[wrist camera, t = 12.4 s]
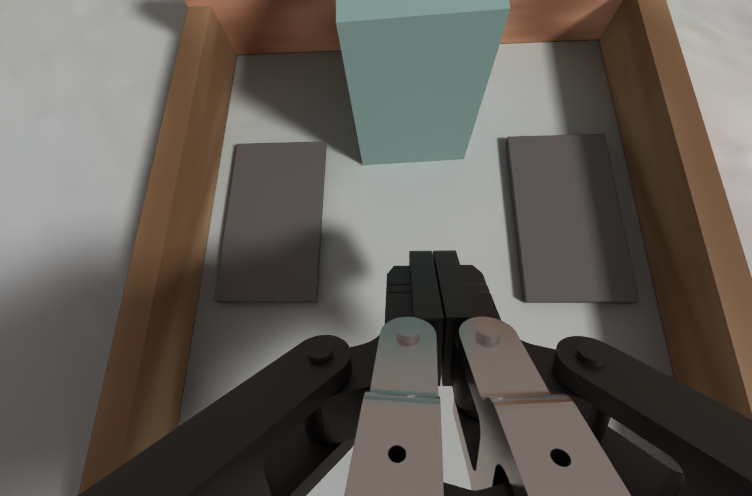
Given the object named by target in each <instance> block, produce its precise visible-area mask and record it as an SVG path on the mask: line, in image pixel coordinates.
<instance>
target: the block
mask: <svg viewBox="0 0 752 496" xmlns="http://www.w3.org/2000/svg"><path fill="white" fill-rule="evenodd" d="M510 9H511V8H510V3H509V0H336V25H337V31H338V36H339V41H340V47H341V52H342V57H343V63H344V68H345V73H346V79H347V84H348V89H349V95H350V100H351V105H352V111H353V116H354V121H355V126H356V132H357V137H358V142H359V148H360V153H361V158H362V164H363V165H373V164H390V163H406V162H423V161H440V160H456V159H464V156H465V153H466V150H467V147H468V143H469V140H470V137H471V134H472V131H473V127H474V124H475V121H476V118H477V115H478V111H479V108H480V105H481V102H482V99H483V95H484V92H485V89H486V86H487V82H488V79H489V76H490V73H491V70H492V66H493V63H494V60H495V57H496V54H497V50H498V47H499V44H500V41H501V38H502V34H503V31H504V28H505V25H506V22H507V18H508V15H509V12H510Z"/></svg>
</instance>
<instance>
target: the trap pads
mask: <svg viewBox="0 0 752 496" xmlns="http://www.w3.org/2000/svg"><path fill="white" fill-rule="evenodd" d="M506 148H507V157H508V166H509V175H510V184H511V193H512V202H513V211H514V220H515V229H516V237H517V246H518V255H519V264H520V273H521V282H522V291H523V300H524V303H634V302H638V301H639V299H638V294H637V289H636V284H635V280H634V275H633V270H632V265H631V260H630V256H629V251H628V246H627V241H626V236H625V232H624V227H623V222H622V217H621V212H620V208H619V203H618V198H617V193H616V188H615V183H614V179H613V174H612V169H611V164H610V159H609V155H608V150H607V145H606V140H605V135H604V134H592V135H554V136H517V137H508V138H507V140H506ZM325 160H326V144H325V142H291V143H254V144H237V150H236V157H235V164H234V171H233V177H232V184H231V191H230V198H229V205H228V211H227V218H226V225H225V232H224V239H223V245H222V252H221V259H220V266H219V273H218V279H217V286H216V293H215V300H214V301H217V302H317V291H318V274H319V258H320V242H321V225H322V209H323V193H324V176H325Z"/></svg>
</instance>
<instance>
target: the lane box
mask: <svg viewBox="0 0 752 496" xmlns="http://www.w3.org/2000/svg"><path fill="white" fill-rule="evenodd" d="M184 1H185V3H186V5H187V6H188V8H187V13H186V17H185V22H184V26H183V31H182V35H181V39H180V44H179V48H178V53H177V57H176V62H175V66H174V71H173V75H172V80H171V84H170V88H169V93H168V97H167V102H166V106H165V111H164V115H163V120H162V124H161V129H160V133H159V138H158V142H157V146H156V151H155V155H154V160H153V164H152V169H151V173H150V178H149V182H148V187H147V191H146V195H145V200H144V204H143V209H142V213H141V218H140V222H139V227H138V231H137V236H136V240H135V244H134V249H133V253H132V258H131V262H130V267H129V271H128V276H127V280H126V285H125V289H124V293H123V298H122V302H121V307H120V311H119V316H118V320H117V325H116V329H115V334H114V338H113V342H112V347H111V351H110V356H109V360H108V365H107V369H106V374H105V378H104V383H103V387H102V392H101V396H100V400H99V405H98V409H97V414H96V418H95V423H94V427H93V432H92V436H91V441H90V445H89V449H88V454H87V458H86V463H85V467H84V472H83V476H82V481H81V485H80V490H79V494H81V493H82V492H84V491H85V490H87V489H88V488H90V487H91V486H92V485H94V484H95V483H97V482H98V481H100V480H101V479H103V478H104V477H106V476H107V475H109V474H110V473H111V472H113V471H114V470H116V469H117V468H119V467H120V466H122V465H123V464H125V463H126V462H128V461H129V460H130V459H132V458H133V457H135V456H136V455H138V454H139V453H141V452H142V451H144V450H145V449H147V448H148V447H150V446H151V445H152V444H154V443H155V442H157V441H158V440H160V439H161V438H163V437H164V436H166V435H167V434H169V433H170V432H171V431H173V430H174V429H176V428H177V425H178V419H179V413H180V407H181V400H182V394H183V388H184V382H185V376H186V369H187V363H188V357H189V351H190V345H191V338H192V332H193V326H194V320H195V313H196V307H197V301H198V295H199V289H200V282H201V276H202V270H203V264H204V258H205V251H206V245H207V239H208V233H209V227H210V220H211V214H212V208H213V202H214V196H215V189H216V183H217V177H218V171H219V164H220V158H221V152H222V146H223V140H224V133H225V127H226V121H227V115H228V109H229V102H230V96H231V90H232V84H233V78H234V71H235V65H236V59H237V55H242V54H265V53H289V52H312V51H336V50H341V47H340V41H339V36H338V31H337V25H336V0H184ZM509 3H510V8H511V9H510V12H509V15H508V18H507V22H506V25H505V28H504V31H503V34H502V38H501V41H500V43H523V42H547V41H570V40H594V39H599V42H600V46H601V51H602V55H603V60H604V64H605V69H606V73H607V78H608V82H609V86H610V91H611V95H612V100H613V104H614V109H615V113H616V118H617V122H618V127H619V131H620V136H621V140H622V145H623V149H624V154H625V158H626V162H627V167H628V171H629V176H630V180H631V185H632V189H633V194H634V198H635V203H636V207H637V212H638V216H639V221H640V225H641V230H642V234H643V238H644V243H645V247H646V252H647V256H648V261H649V265H650V270H651V274H652V279H653V283H654V288H655V292H656V297H657V301H658V306H659V310H660V314H661V319H662V323H663V328H664V332H665V337H666V341H667V346H668V350H669V355H670V359H671V364H672V368H673V373H674V377H675V380H677V381H678V382H680V383H682V384H684V385H686V386H688V387H690V388H692V389H694V390H696V391H698V392H699V393H701V394H703V395H705V396H707V397H709V398H711V399H713V400H715V401H717V402H719V403H721V404H722V405H724V406H726V407H728V408H730V409H732V410H734V411H736V412H738V413H740V414H742V415H744V416H745V417H747V418H749V419H751V420H752V278H751V274H750V271H749V268H748V265H747V261H746V258H745V255H744V252H743V248H742V245H741V242H740V239H739V235H738V232H737V229H736V226H735V222H734V219H733V216H732V213H731V210H730V206H729V203H728V200H727V197H726V193H725V190H724V187H723V184H722V180H721V177H720V174H719V171H718V167H717V164H716V161H715V158H714V154H713V151H712V148H711V145H710V141H709V138H708V135H707V132H706V128H705V125H704V122H703V119H702V115H701V112H700V109H699V106H698V102H697V99H696V96H695V93H694V90H693V86H692V83H691V80H690V77H689V73H688V70H687V67H686V64H685V60H684V57H683V54H682V51H681V47H680V44H679V41H678V38H677V34H676V31H675V28H674V25H673V21H672V18H671V15H670V12H669V8H668V5H667V2H666V0H509ZM79 494H78V495H79Z"/></svg>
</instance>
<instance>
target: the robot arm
mask: <svg viewBox="0 0 752 496" xmlns="http://www.w3.org/2000/svg"><path fill="white" fill-rule="evenodd" d="M441 378H442V385H443V386H452V387H453V393H454V402H453V413H454V418H455V422H456V426H457V430H458V434H459V438H460V442H461V446H462V450H463V454H464V458H465V462H466V466H467V470H468V474H469V478H470V483H471V490H468V489H465V488H461V487H458V486H454V485H451V484H447V483H444V482H443V462H442V435H441V408H440V397H438V386H440V379H441ZM611 417H612V418H613V419H615V420H616V421H618V422H619V423H621V424H622V425H624V426H625V427H627V428H628V429H630V430H631V431H633V432H634V433H636V434H638V435H639V436H641V437H642V438H644V439H645V440H647V441H648V442H650V443H651V444H653V445H654V446H656V447H657V448H659V449H660V450H662V451H663V452H665V453H666V454H668V455H669V456H670V457H672V458H673V459H674V460H675V461H676V462H677V463H678V464H679V466H680V467H681V468H682V470H683V472H684V474H682V473H678V472H676V471H674V470H672V469H670V468H668V467H667V466H665V465H664V464H662V463H661V462H659V461H658V460H656V459H655V458H654V457H652V456H651V455H649V454H648V453H646V452H645V451H643V450H642V449H640V448H639V447H637V446H636V445H634V444H633V443H632V442H630V441H629V440H627V439H626V438H624V437H623V436H621V435H620V434H618V433H617V432H615V431H614V430H612V429H611V428H610V427H608V423H609V421H610V418H611ZM353 445H354V448H353V454H352V459H351V464H350V469H349V474H348V480H347V485H346V490H345V495H344V496H752V420H751V419H749V418H747V417H745V416H744V415H742V414H740V413H738V412H736V411H734V410H732V409H730V408H728V407H726V406H724V405H722V404H721V403H719V402H717V401H715V400H713V399H711V398H709V397H707V396H705V395H703V394H701V393H699V392H698V391H696V390H694V389H692V388H690V387H688V386H686V385H684V384H682V383H680V382H678V381H677V380H675V379H673V378H671V377H669V376H667V375H665V374H663V373H661V372H659V371H657V370H655V369H654V368H652V367H650V366H648V365H646V364H644V363H642V362H640V361H638V360H636V359H634V358H633V357H631V356H629V355H627V354H625V353H623V352H621V351H619V350H617V349H615V348H613V347H611V346H610V345H608V344H606V343H603V342H601V341H599V340H596V339H593V338H589V337H582V336H572V337H567V338H564V339H563V340H561V341H560V342H559V343H558V345H557V348H556V350H555V349H550V348H546V347H541V346H537V345H533V344H529V343H526V342H524V341H522V340H520V338H519V337H518V335H517V333H516V332H515V330H514V329H513V328H512V327H511V326H510V325H508V324H507V323H505V322H503V321H501V319H500V316H499V314H498V311H497V309H496V306H495V304H494V301H493V299H492V296H491V294H490V293H489V289H488V286H487V285H486V282H485V279H484V277H483V274H482V273H481V272H480V271H479V270H478V269H476V268H475V267H474V266H473V265H460V263H459V260H458V257H457V253H456V251H455V250H453V251H433V253H432V251H409V266H393V268H392V269H391V270H390V271H389V273H388V274H387V288H386V309H385V325H384V326H383V327H382V329H381V332H380V335H379V336H378V337H376V338H375V339H374V340H372V341H370V342H368V343H365V344H362V345H358V346H354V347H349V346H348V344H347V343H346V342H345V341H344V340H343V339H341V338H339V337H336V336H331V335H320V336H315V337H312V338H309V339H307V340H305V341H303V342H302V343H300V344H299V345H297V346H296V347H294V348H293V349H291V350H290V351H289V352H287V353H286V354H284V355H283V356H281V357H280V358H278V359H277V360H275V361H274V362H272V363H271V364H270V365H268V366H267V367H265V368H264V369H262V370H261V371H259V372H258V373H256V374H255V375H253V376H252V377H250V378H249V379H248V380H246V381H245V382H243V383H242V384H240V385H239V386H237V387H236V388H234V389H233V390H231V391H230V392H229V393H227V394H226V395H224V396H223V397H221V398H220V399H218V400H217V401H215V402H214V403H212V404H211V405H210V406H208V407H207V408H205V409H204V410H202V411H201V412H199V413H198V414H196V415H195V416H193V417H192V418H190V419H189V420H188V421H186V422H185V423H183V424H182V425H180V426H179V427H177V428H176V429H174V430H173V431H171V432H170V433H169V434H167V435H166V436H164V437H163V438H161V439H160V440H158V441H157V442H155V443H154V444H152V445H151V446H150V447H148V448H147V449H145V450H144V451H142V452H141V453H139V454H138V455H136V456H135V457H133V458H132V459H130V460H129V461H128V462H126V463H125V464H123V465H122V466H120V467H119V468H117V469H116V470H114V471H113V472H111V473H110V474H109V475H107V476H106V477H104V478H103V479H101V480H100V481H98V482H97V483H95V484H94V485H92V486H91V487H90V488H88V489H87V490H85V491H84V492H82V493H81V494H79V495H78V496H306V495H307V494H308V493H309V492H310V491H311V490H312V489H313V488H314V487H315V486H316V485H317V484H318V483H319V482H320V481H321V479H322V478H323V477H324V476H325V475H326V474H327V473H328V472H329V471H330V470H331V469H332V468H333V467H334V466H335V465H336V464H337V463H338V462H339V461H340V460H341V459H342V457H343V456H344V455H345V454H346V453H347V452H348V451H349V450H350V449H351V448H352V447H353Z"/></svg>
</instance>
